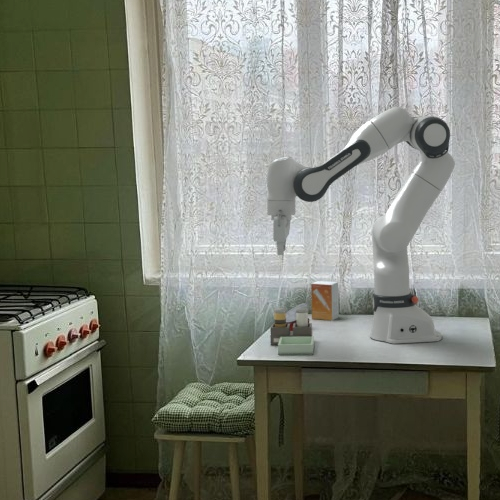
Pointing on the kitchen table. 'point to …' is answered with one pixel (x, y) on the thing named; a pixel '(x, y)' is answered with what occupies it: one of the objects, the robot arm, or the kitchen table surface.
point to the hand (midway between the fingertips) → (281, 252)
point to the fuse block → (289, 332)
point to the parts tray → (295, 345)
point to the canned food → (293, 315)
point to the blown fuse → (280, 317)
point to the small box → (325, 300)
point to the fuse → (302, 316)
